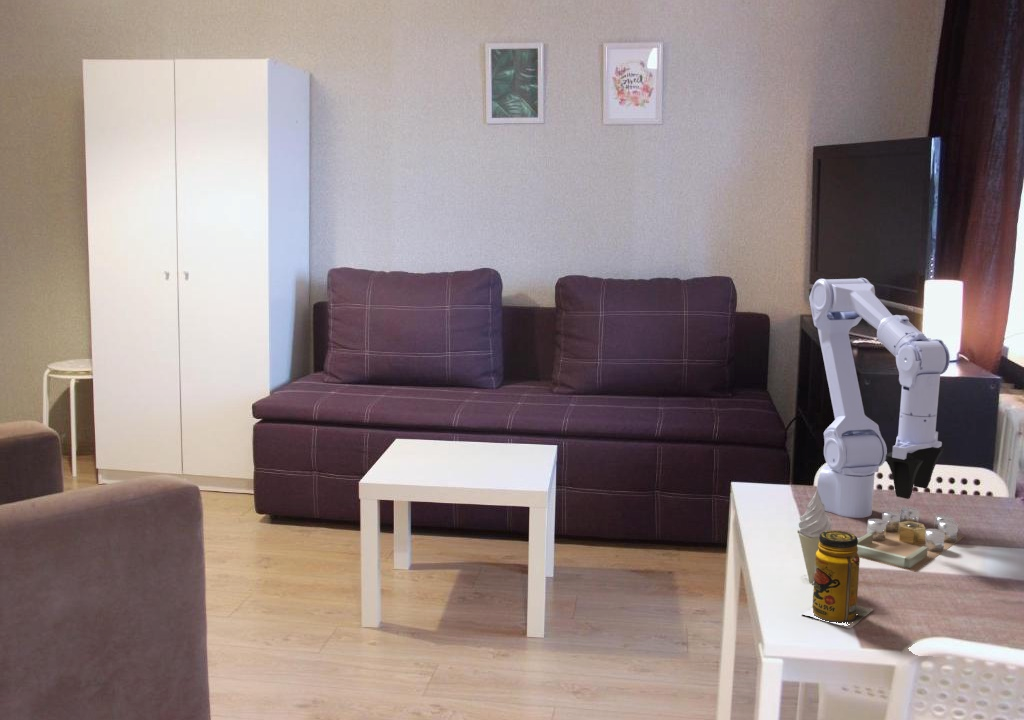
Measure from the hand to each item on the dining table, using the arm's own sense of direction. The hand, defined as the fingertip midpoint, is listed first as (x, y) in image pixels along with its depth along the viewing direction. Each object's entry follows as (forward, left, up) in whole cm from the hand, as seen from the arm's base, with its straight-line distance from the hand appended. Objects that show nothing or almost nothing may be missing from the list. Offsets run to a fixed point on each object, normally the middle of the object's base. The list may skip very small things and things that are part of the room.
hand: (912, 492), depth 178 cm
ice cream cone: (-5, -25, -10) cm, 28 cm away
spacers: (0, +3, -9) cm, 9 cm away
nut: (0, +1, -9) cm, 9 cm away
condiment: (+3, -33, -10) cm, 35 cm away
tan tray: (0, -2, -10) cm, 10 cm away
